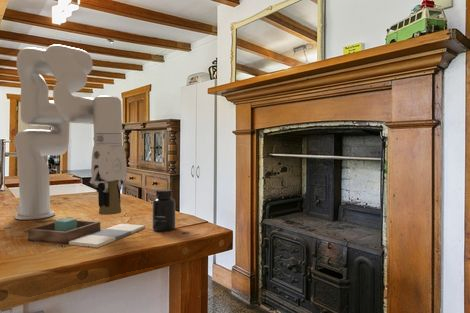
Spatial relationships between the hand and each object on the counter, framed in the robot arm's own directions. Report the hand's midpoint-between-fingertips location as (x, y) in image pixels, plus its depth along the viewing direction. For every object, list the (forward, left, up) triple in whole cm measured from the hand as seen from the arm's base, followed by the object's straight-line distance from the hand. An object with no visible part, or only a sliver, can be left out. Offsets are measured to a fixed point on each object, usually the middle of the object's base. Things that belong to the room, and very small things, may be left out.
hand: (109, 204), depth 97 cm
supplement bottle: (+11, +11, -9) cm, 18 cm away
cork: (0, 0, -2) cm, 2 cm away
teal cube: (-12, -4, -8) cm, 15 cm away
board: (0, 0, -9) cm, 9 cm away
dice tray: (-12, -4, -9) cm, 15 cm away
